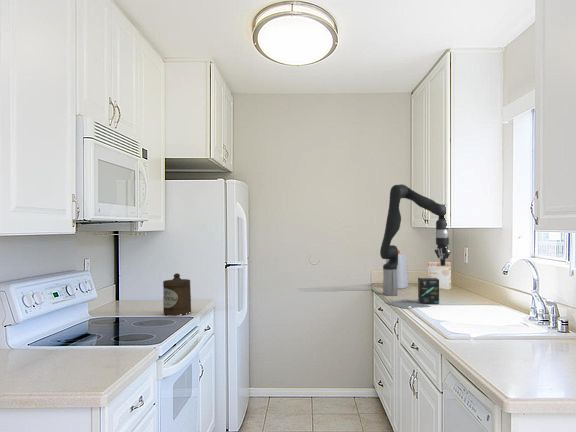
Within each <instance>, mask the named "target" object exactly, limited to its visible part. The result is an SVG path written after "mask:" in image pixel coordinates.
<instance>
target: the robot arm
mask: <svg viewBox="0 0 576 432" xmlns="http://www.w3.org/2000/svg"><path fill="white" fill-rule="evenodd" d="M401 199H407V200H410V201H412V202H413V203H414V204H416V205H417V206H418V207H419V208H422V209H425V210H427V211H429V212H430V213H432V214H433V215H435V216H438V219H437V220H436V222H435V245H437V247H436V249H434V253H435V255H436V256H437V258H438V259H439V260H440V261H439V262H440V264H441V266H445V262H446V260H447V259H449V256H450V254H451V250H449V245H450V236H449V235H450V234H449V227H448V228H446V226H447V223H446V220H445V218H444V215H445V214H446V207H445V205H446V204H440V203H437V202H436V201H435V200H433V199H431V198H428V197H426V196H424V195H422V194H420V193H419V192H416V191H414V190H413V189H411V188H410V187H408V186H407V185H405V184H394V185H393V186H392V187H391V189H390V191H389V205H388V211H387V216H386V223H385V229H384V234H383V239H382V242H381V247H380V250H379V254H380V255H379V256H380V257H381V258H382V260H386V259H389V261H388V262H387V263H386V262H385V263H384V264H383V265H382V268H383V269H382V273H383V274H382V279H383V280H382V294H383V295H384V296H397V295H398V289H397V265H398V250H399V249H398V247H397V246H396V245H395V244H391V243H392V240H393V238H394V237H395V236H396V235H397V233H398V232H399V231H400V228H401V222H402V216H401V212H400V202H401Z"/></svg>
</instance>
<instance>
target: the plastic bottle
mask: <svg viewBox="0 0 576 432" xmlns="http://www.w3.org/2000/svg"><path fill="white" fill-rule="evenodd" d="M406 257H407V256H406V254H404V253H401V251H400V250H399V249H398V265H397V290H403V289H407V288H408V287H409V282H408V272H407V271H408V269H407V259H406ZM388 261H389V259H385V264H386V263H387V262H388Z"/></svg>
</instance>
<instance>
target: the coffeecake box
mask: <svg viewBox="0 0 576 432" xmlns="http://www.w3.org/2000/svg"><path fill="white" fill-rule="evenodd" d="M451 263H452V262H451V261H445V266H441V264H440V261H428V262H427V272H428V273H427V278H437V279H439V290H445V291H446V290H448V291H449V290H452V267H451V266H452V264H451Z"/></svg>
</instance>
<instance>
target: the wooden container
mask: <svg viewBox="0 0 576 432" xmlns="http://www.w3.org/2000/svg"><path fill="white" fill-rule="evenodd" d="M180 276H181V274H179V273H174V274H173V278H172V279H167V280H163V281H162V287H163V289H162V291H163V297H162V301H163V302H162V304H163V305H162V306H163V310H162V311H163V315H164V314H167V315H180V314H186V313H189V312H191V313H192V293H191V279H185V278H181V277H180ZM167 315H166V316H167Z"/></svg>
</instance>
